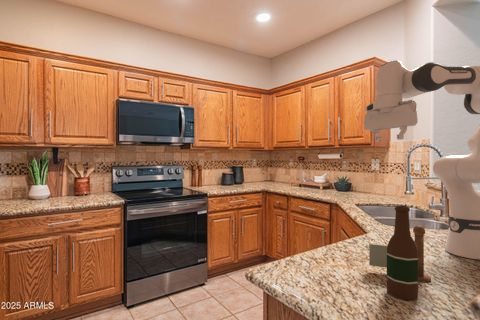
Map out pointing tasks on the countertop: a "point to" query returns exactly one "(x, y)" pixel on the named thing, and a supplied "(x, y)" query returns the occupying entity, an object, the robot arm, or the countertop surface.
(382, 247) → the flap
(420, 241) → the post
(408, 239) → the beer bottle
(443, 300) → the countertop surface
